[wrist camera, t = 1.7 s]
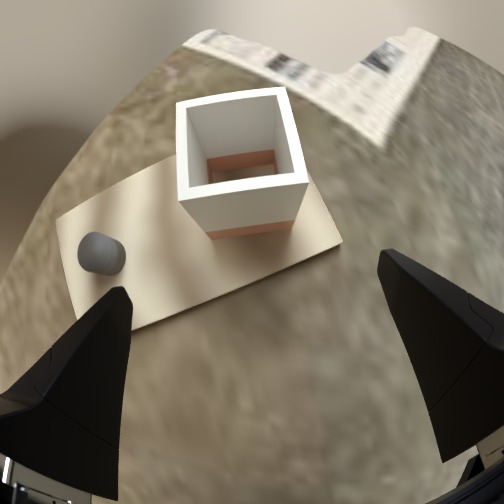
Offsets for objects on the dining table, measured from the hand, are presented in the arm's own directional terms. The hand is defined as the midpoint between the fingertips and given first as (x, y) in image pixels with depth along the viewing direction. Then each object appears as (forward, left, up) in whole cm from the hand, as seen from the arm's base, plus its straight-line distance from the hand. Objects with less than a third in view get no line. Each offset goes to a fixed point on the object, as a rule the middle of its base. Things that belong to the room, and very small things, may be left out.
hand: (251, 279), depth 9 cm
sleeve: (+4, -7, -12) cm, 14 cm away
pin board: (+8, -2, -13) cm, 16 cm away
